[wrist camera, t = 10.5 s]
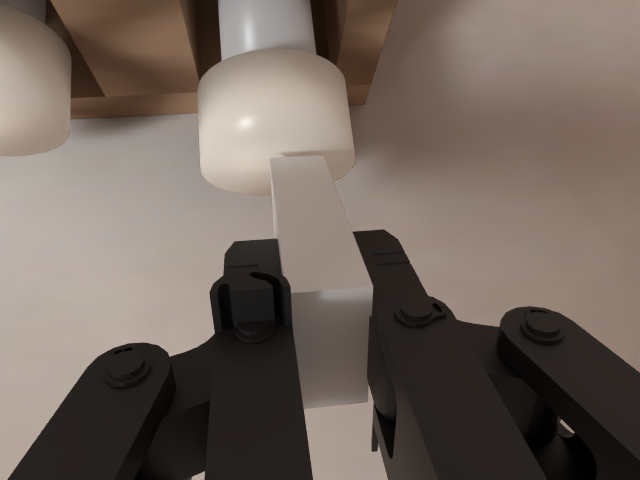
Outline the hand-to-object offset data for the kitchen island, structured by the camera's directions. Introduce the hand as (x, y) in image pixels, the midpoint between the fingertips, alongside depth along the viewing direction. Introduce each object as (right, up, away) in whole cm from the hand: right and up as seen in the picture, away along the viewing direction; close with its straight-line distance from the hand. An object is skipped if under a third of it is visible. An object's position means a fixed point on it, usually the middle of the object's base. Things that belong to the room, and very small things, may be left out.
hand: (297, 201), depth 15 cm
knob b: (-1, +7, +5) cm, 8 cm away
